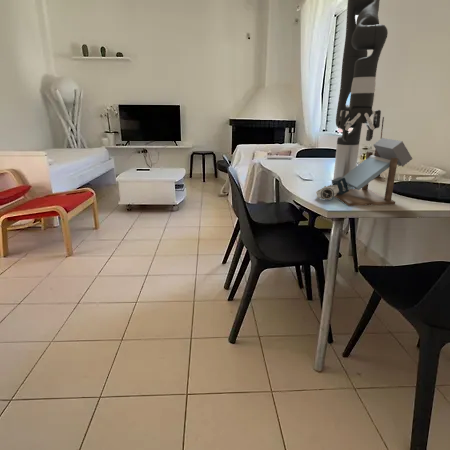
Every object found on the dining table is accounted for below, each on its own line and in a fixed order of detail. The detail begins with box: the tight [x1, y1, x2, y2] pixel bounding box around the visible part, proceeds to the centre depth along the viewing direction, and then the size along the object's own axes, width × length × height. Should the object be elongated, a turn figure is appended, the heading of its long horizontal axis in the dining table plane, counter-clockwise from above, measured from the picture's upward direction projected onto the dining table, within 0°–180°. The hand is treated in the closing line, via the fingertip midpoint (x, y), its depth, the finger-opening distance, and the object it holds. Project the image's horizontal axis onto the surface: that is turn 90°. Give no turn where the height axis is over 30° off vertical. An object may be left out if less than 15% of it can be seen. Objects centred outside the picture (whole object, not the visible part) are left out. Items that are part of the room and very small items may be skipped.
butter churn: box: [373, 116, 385, 178], centre depth 157 cm, size 9×10×28 cm
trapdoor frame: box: [333, 151, 398, 207], centre depth 122 cm, size 17×20×16 cm
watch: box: [315, 177, 349, 201], centre depth 124 cm, size 6×8×11 cm
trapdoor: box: [343, 137, 413, 190], centre depth 121 cm, size 21×14×8 cm
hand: (356, 141), depth 117 cm, fingers open, 8 cm apart
